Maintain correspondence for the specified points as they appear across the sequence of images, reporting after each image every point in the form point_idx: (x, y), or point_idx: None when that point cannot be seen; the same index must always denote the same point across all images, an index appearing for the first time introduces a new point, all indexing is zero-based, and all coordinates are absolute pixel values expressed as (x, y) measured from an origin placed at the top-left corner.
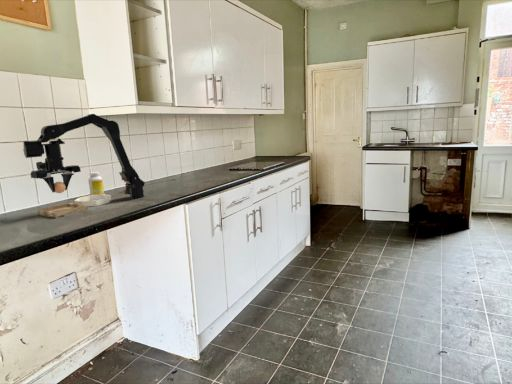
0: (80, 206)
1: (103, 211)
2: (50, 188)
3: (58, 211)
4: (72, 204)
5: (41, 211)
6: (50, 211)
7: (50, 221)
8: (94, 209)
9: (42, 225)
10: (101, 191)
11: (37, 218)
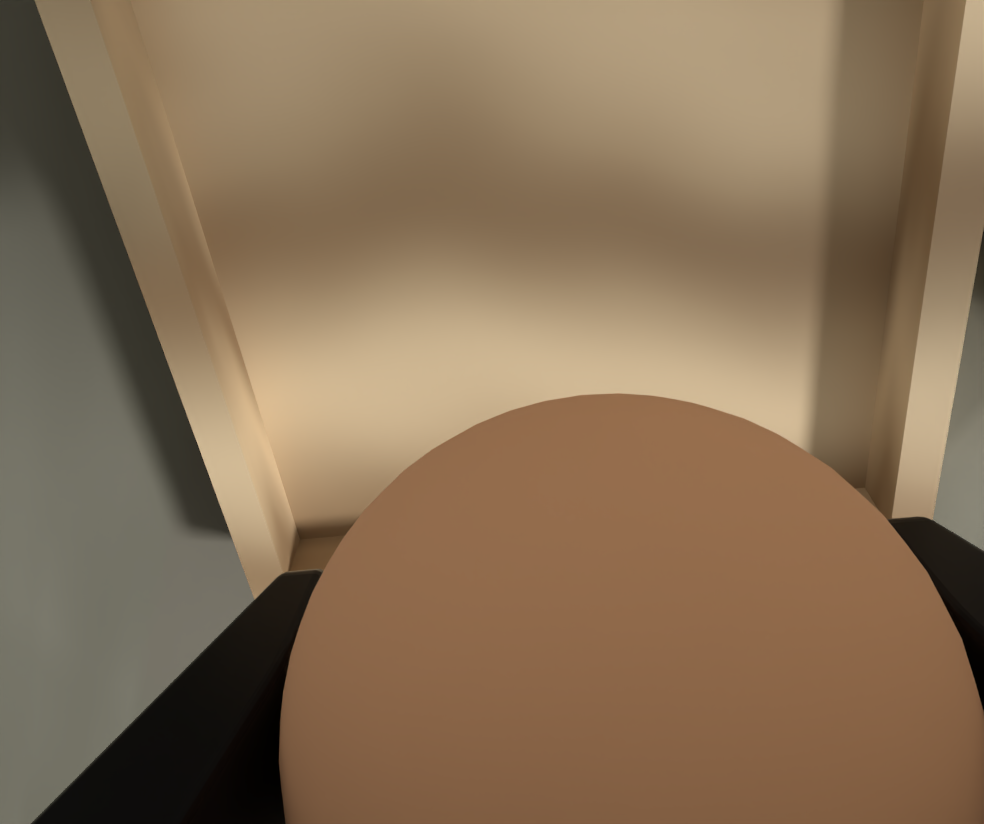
0: (894, 398)
1: None
2: (162, 720)
3: (455, 229)
4: (949, 45)
5: (79, 86)
6: (324, 21)
7: (178, 639)
8: (979, 544)
9: (55, 725)
10: None
11: (11, 257)
